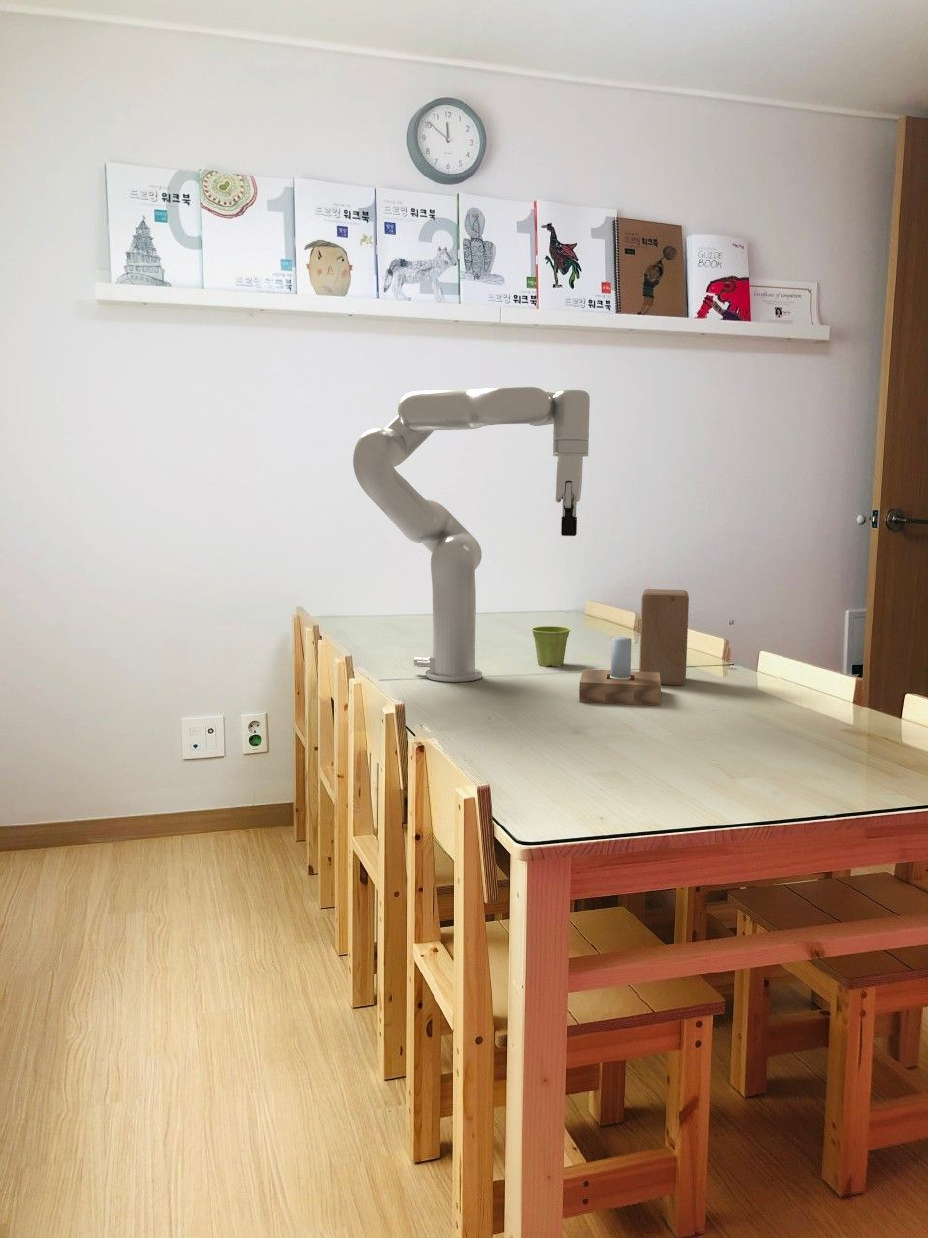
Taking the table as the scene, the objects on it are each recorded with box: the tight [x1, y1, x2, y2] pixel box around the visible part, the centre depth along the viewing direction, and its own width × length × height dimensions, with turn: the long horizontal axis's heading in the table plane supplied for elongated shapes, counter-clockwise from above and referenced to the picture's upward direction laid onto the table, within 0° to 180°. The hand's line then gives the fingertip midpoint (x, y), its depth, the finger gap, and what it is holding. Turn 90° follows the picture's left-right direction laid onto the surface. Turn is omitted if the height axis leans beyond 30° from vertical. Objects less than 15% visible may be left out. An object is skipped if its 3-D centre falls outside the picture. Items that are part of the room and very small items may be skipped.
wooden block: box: [638, 588, 690, 686], centre depth 223 cm, size 10×10×20 cm
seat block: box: [578, 669, 662, 706], centre depth 208 cm, size 16×14×4 cm
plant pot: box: [530, 625, 572, 667], centre depth 243 cm, size 9×9×9 cm
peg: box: [610, 636, 632, 680], centre depth 208 cm, size 4×4×12 cm
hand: (568, 535), depth 219 cm, fingers closed
